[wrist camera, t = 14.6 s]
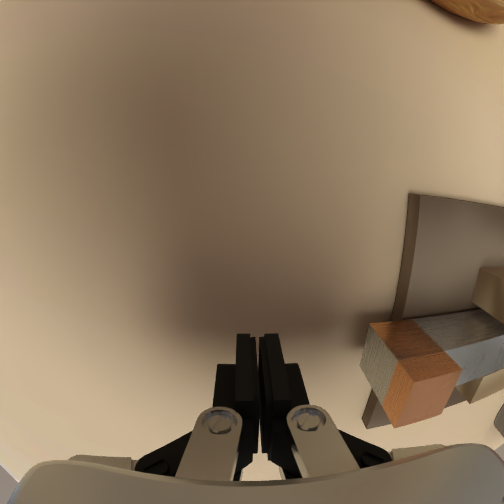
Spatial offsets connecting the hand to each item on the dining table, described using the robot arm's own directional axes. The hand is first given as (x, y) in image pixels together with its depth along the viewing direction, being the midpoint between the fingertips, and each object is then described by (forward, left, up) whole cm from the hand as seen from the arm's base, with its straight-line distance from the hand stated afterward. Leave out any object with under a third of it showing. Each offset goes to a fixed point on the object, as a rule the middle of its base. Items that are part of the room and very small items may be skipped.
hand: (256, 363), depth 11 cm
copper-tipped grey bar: (0, +10, -1) cm, 10 cm away
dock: (0, +19, -2) cm, 19 cm away
